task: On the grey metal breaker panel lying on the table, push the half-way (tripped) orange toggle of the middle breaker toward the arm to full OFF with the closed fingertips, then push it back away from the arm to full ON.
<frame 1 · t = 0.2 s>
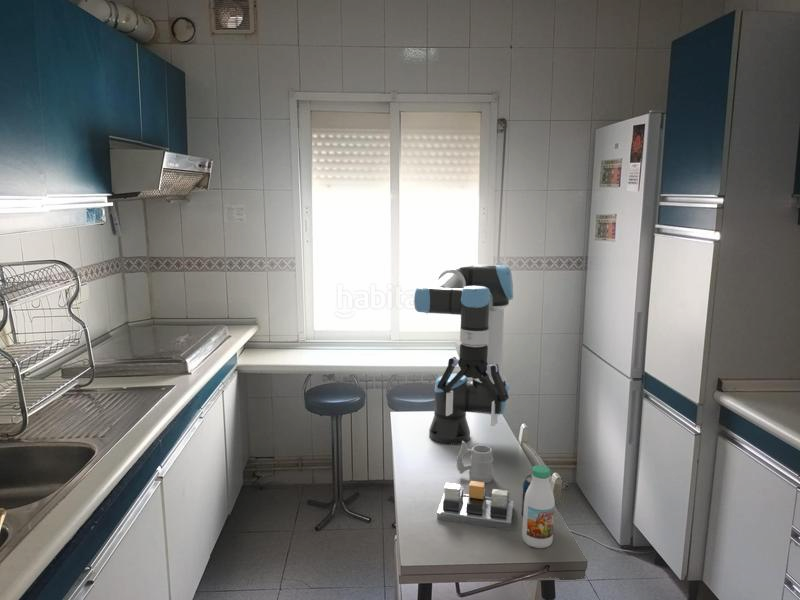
hand: (471, 419, 159), 28 cm above the table, fingers open, 13 cm apart
milk bottle: (537, 541, 151), on the table
mug: (474, 478, 184), on the table
breaker panel: (475, 513, 163), on the table
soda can: (534, 520, 160), on the table
tripped toggle: (476, 489, 162), point 7 cm above the table, slide at 2.5 cm
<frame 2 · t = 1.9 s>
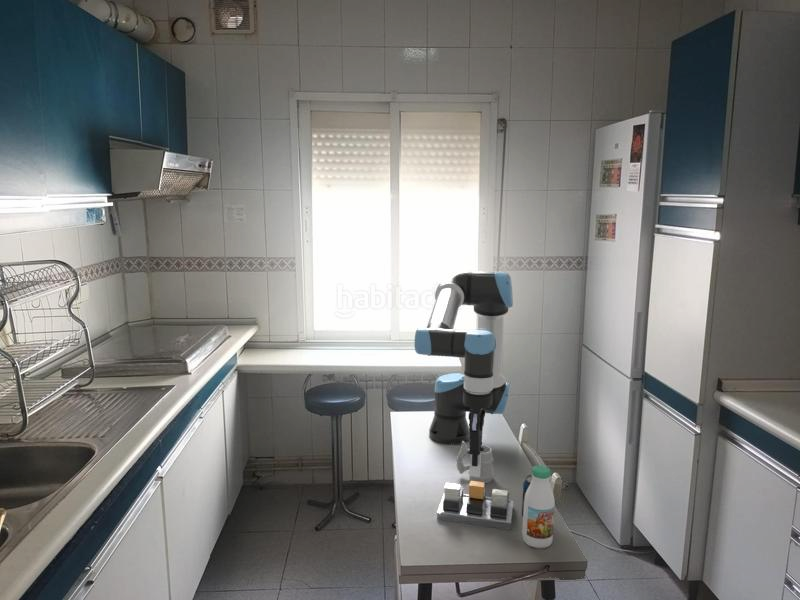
hand: (474, 475, 154), 15 cm above the table, fingers closed
nothing on the table moved.
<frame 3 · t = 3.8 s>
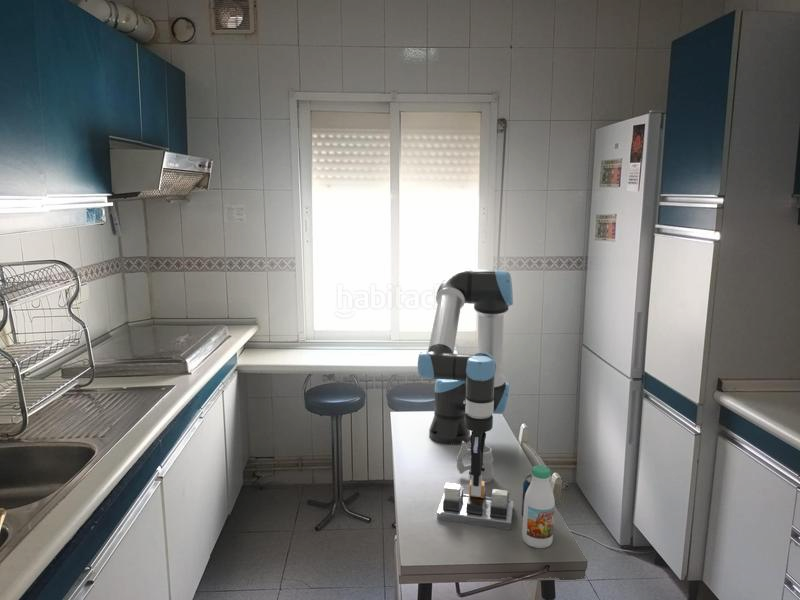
hand: (476, 494, 161), 6 cm above the table, fingers closed
tripped toggle: (477, 488, 163), point 7 cm above the table, slide at 1.8 cm, touching gripper
everything else where it was.
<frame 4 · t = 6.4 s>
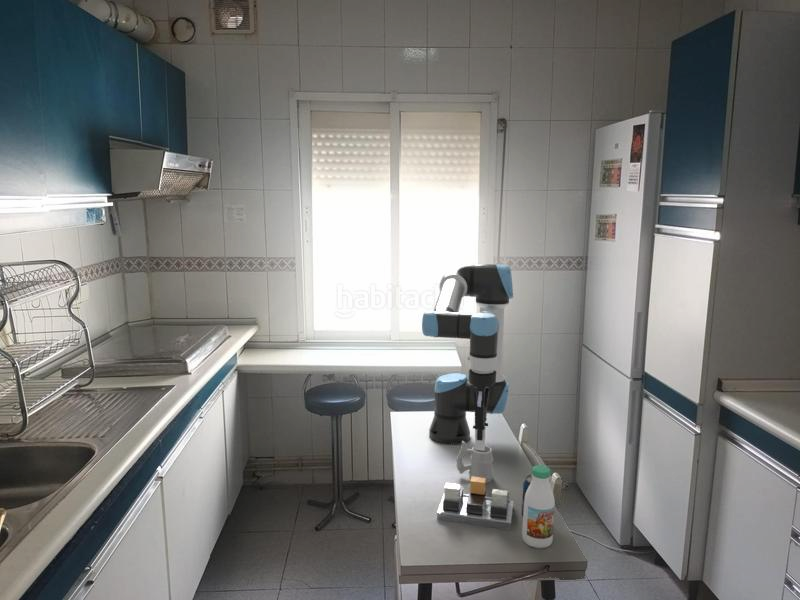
hand: (479, 448, 165), 17 cm above the table, fingers closed
tripped toggle: (477, 485, 165), point 7 cm above the table, slide at -0.1 cm
everything else where it was.
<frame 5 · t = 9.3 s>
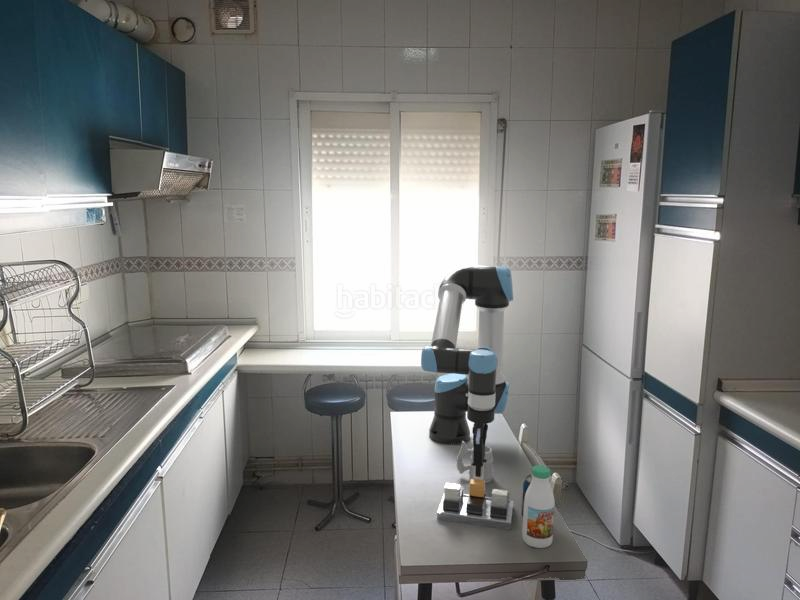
hand: (478, 485, 165), 7 cm above the table, fingers closed
tripped toggle: (477, 488, 163), point 7 cm above the table, slide at 1.4 cm, touching gripper
everything else where it was.
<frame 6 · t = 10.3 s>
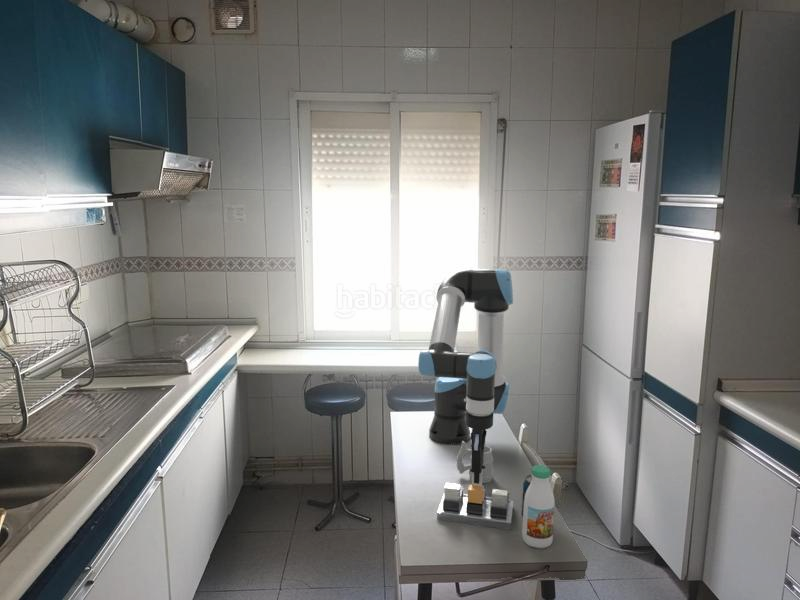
hand: (476, 491, 162), 7 cm above the table, fingers closed
tripped toggle: (475, 494, 160), point 7 cm above the table, slide at 5.1 cm, touching gripper
everything else where it was.
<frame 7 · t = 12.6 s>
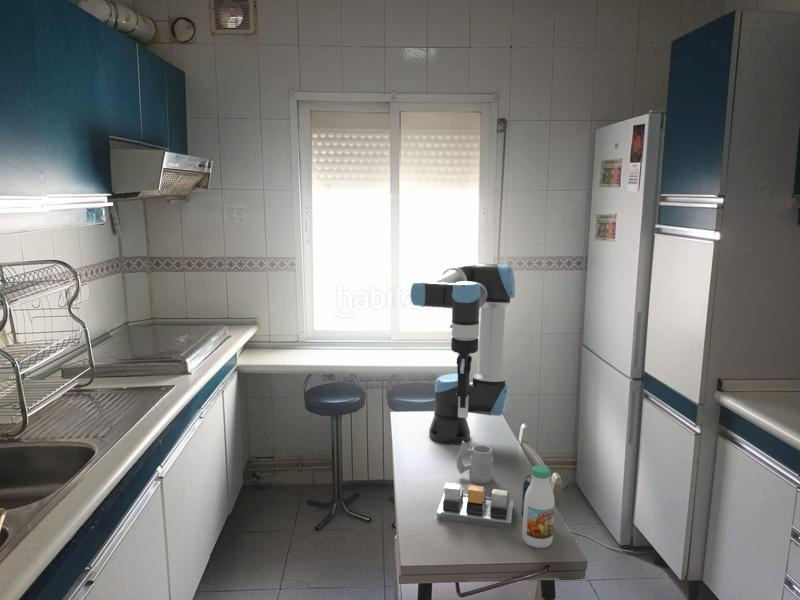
hand: (462, 416, 167), 26 cm above the table, fingers closed
tripped toggle: (475, 494, 160), point 7 cm above the table, slide at 5.1 cm
everything else where it was.
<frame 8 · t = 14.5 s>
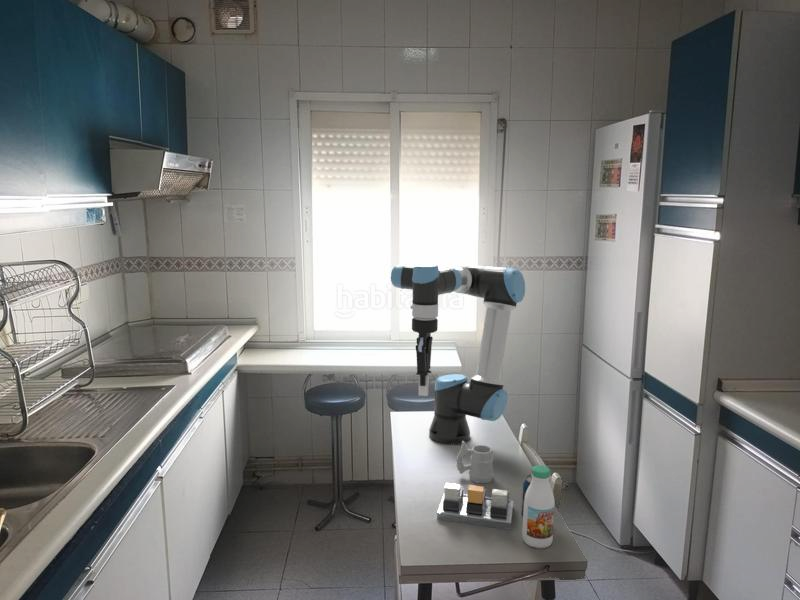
hand: (423, 394, 173), 29 cm above the table, fingers closed
nothing on the table moved.
at the end: tripped toggle slide at 5.1 cm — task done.
